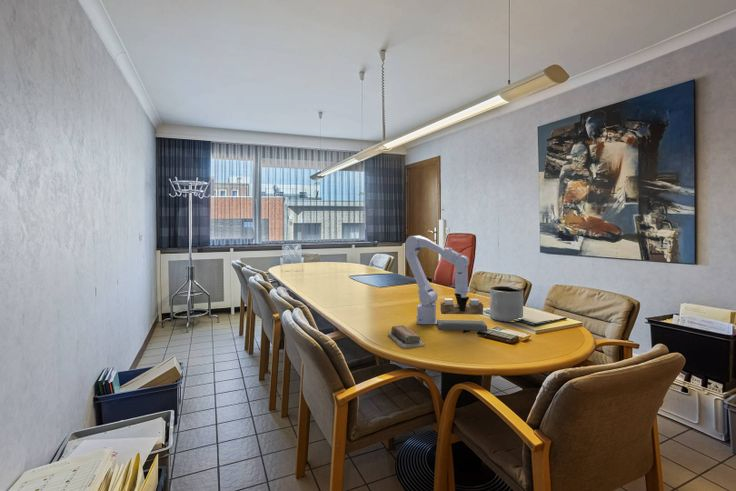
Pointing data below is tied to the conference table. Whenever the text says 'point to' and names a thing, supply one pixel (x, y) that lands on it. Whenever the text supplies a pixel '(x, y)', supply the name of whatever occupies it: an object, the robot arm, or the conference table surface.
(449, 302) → the crate cream
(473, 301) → the crate greyblue
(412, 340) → the packaged product
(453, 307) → the brown grey lumpy bar
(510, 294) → the planter
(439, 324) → the dock
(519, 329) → the conference table surface
